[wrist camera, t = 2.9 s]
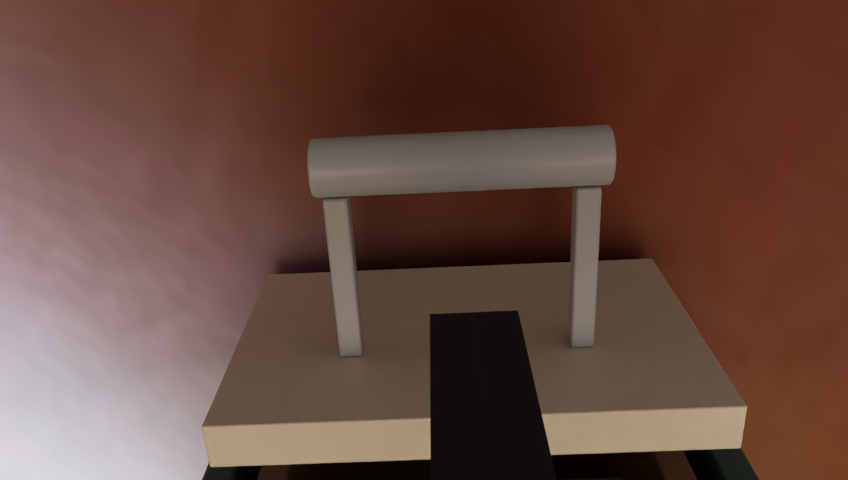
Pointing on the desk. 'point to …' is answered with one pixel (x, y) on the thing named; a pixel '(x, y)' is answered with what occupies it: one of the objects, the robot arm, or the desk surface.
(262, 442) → the drawer
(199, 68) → the desk surface
